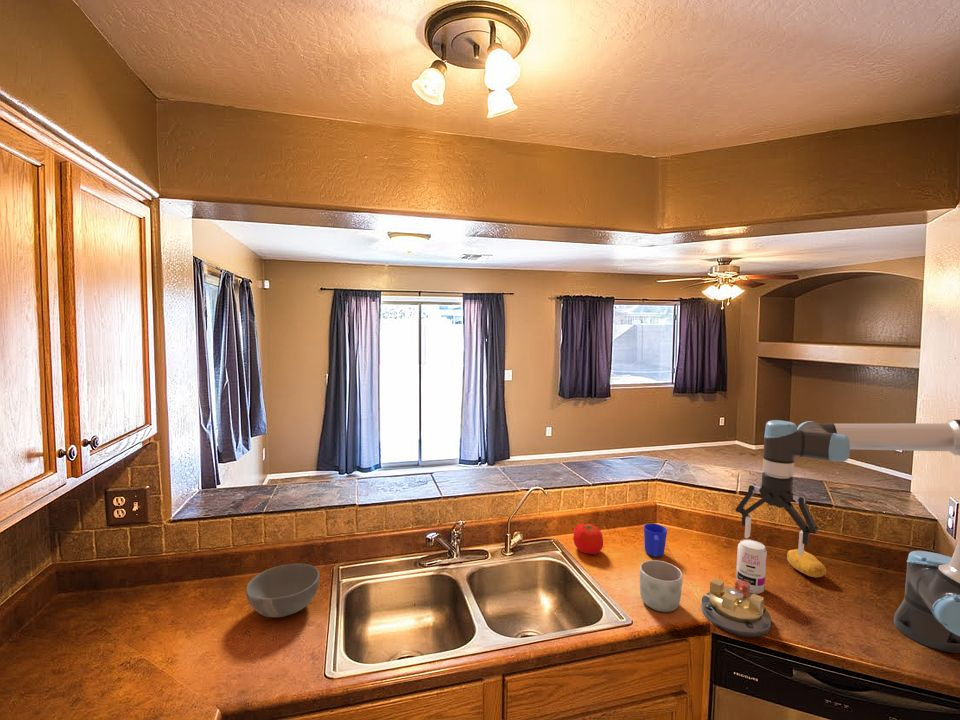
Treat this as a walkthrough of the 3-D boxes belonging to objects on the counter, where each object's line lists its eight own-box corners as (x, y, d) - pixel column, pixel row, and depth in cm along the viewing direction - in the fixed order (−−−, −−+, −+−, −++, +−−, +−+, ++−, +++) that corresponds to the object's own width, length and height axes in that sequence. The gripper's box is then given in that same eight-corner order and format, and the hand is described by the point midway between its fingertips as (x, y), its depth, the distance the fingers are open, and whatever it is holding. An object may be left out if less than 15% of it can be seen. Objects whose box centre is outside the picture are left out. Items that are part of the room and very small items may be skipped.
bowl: (333, 596, 143) (333, 566, 143) (289, 639, 124) (288, 604, 123) (280, 585, 149) (279, 556, 148) (230, 624, 130) (229, 591, 129)
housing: (778, 617, 135) (780, 593, 135) (759, 646, 123) (760, 620, 123) (714, 591, 149) (715, 569, 148) (691, 614, 136) (692, 590, 136)
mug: (643, 562, 166) (645, 535, 166) (642, 546, 178) (643, 522, 177) (668, 565, 164) (669, 539, 163) (664, 550, 176) (665, 525, 175)
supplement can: (756, 581, 155) (759, 539, 153) (769, 596, 146) (772, 551, 145) (731, 579, 155) (733, 537, 154) (742, 594, 147) (745, 549, 146)
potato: (801, 562, 167) (802, 544, 167) (831, 584, 154) (832, 564, 153) (780, 562, 167) (782, 544, 167) (808, 584, 154) (810, 564, 153)
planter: (687, 604, 141) (689, 571, 141) (670, 622, 133) (671, 586, 132) (650, 587, 150) (651, 555, 150) (631, 602, 142) (632, 569, 141)
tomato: (584, 540, 182) (585, 516, 182) (610, 554, 172) (611, 528, 171) (564, 548, 176) (565, 522, 175) (589, 562, 166) (590, 535, 165)
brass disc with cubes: (769, 608, 135) (770, 590, 135) (753, 630, 126) (755, 610, 125) (719, 588, 146) (720, 571, 145) (701, 606, 136) (702, 588, 136)
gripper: (834, 482, 125) (828, 557, 126) (735, 461, 143) (731, 526, 145) (827, 489, 120) (822, 566, 121) (726, 466, 138) (722, 534, 140)
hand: (773, 545), depth 133 cm, fingers open, 13 cm apart
